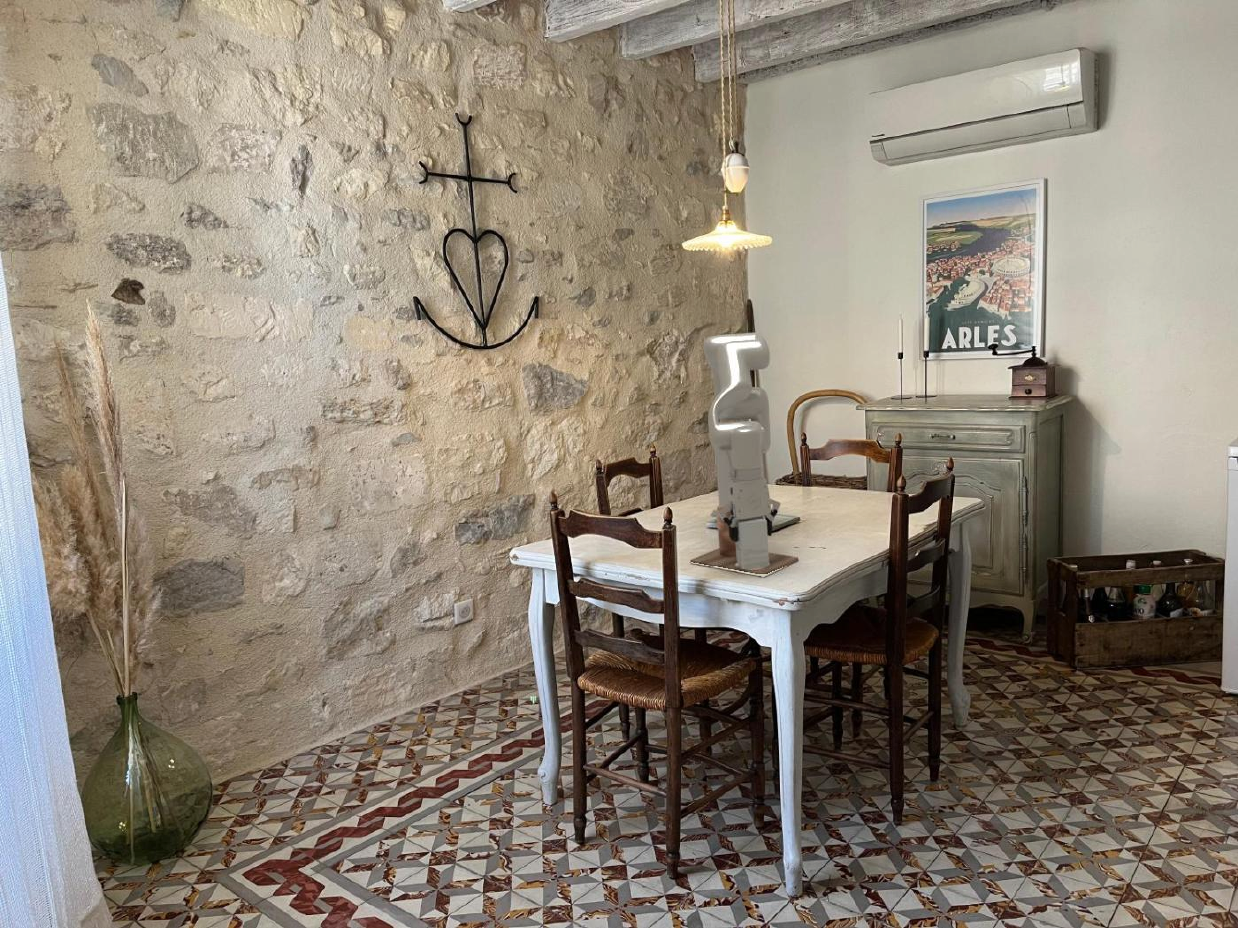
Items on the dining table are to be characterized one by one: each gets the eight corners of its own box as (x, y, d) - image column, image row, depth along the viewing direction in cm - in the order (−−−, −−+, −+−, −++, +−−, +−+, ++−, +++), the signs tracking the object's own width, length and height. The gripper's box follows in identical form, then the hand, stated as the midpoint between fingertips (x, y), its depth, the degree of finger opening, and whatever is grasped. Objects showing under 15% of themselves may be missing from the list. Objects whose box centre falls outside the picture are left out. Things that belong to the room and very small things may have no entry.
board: (690, 563, 256) (687, 513, 253) (726, 548, 267) (723, 500, 264) (763, 577, 239) (761, 524, 237) (798, 560, 250) (796, 510, 248)
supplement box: (763, 558, 251) (760, 513, 248) (769, 567, 244) (767, 519, 241) (735, 561, 250) (733, 515, 248) (741, 569, 243) (739, 522, 241)
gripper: (722, 481, 237) (726, 546, 240) (784, 472, 242) (787, 536, 245) (711, 476, 244) (714, 539, 247) (771, 467, 249) (774, 529, 252)
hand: (751, 537), depth 246 cm, fingers open, 9 cm apart
